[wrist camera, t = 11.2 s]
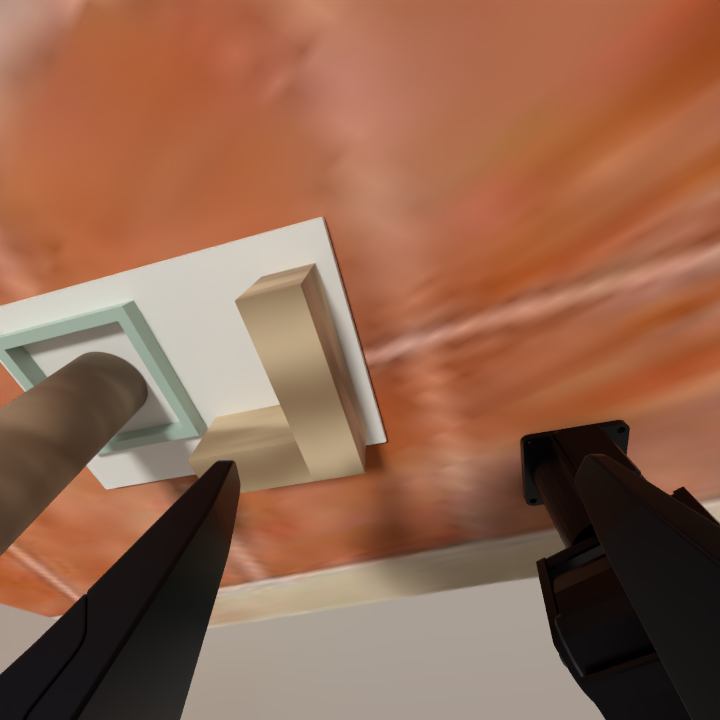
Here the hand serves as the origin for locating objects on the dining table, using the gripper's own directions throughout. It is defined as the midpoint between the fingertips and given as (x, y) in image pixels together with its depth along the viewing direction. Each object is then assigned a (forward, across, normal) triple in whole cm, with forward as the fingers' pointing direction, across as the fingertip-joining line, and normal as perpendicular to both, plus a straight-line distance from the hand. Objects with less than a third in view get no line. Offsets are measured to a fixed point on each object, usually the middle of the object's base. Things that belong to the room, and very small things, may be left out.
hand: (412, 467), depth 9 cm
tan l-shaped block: (+12, +6, +5) cm, 15 cm away
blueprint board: (+13, +11, +6) cm, 18 cm away
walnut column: (+12, +16, +6) cm, 22 cm away
